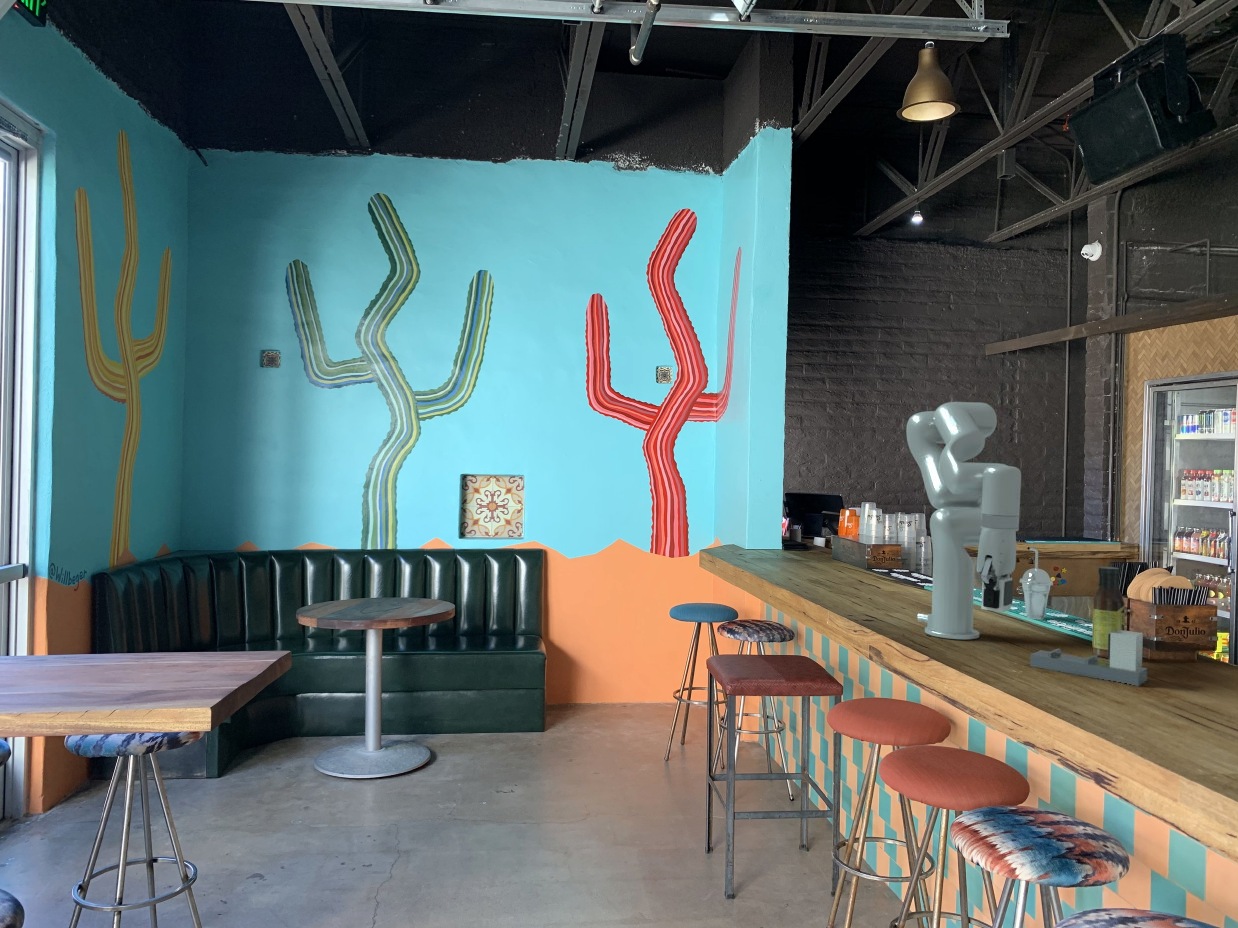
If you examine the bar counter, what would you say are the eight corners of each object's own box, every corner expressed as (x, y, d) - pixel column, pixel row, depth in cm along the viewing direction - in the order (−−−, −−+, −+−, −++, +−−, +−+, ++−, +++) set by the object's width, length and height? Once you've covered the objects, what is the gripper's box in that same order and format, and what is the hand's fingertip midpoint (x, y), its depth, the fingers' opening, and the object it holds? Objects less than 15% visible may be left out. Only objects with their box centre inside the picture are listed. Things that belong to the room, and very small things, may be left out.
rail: (1030, 666, 177) (1031, 621, 177) (1040, 661, 181) (1041, 617, 181) (1138, 686, 163) (1139, 637, 163) (1146, 680, 167) (1148, 633, 167)
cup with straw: (1059, 620, 229) (1061, 547, 229) (1031, 621, 227) (1033, 547, 227) (1037, 614, 238) (1039, 544, 237) (1009, 615, 235) (1011, 544, 235)
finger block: (981, 608, 183) (982, 577, 183) (989, 605, 186) (991, 574, 186) (1004, 612, 179) (1006, 580, 179) (1012, 609, 183) (1014, 578, 182)
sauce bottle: (1128, 660, 184) (1131, 570, 184) (1097, 658, 185) (1100, 568, 185) (1117, 653, 191) (1119, 566, 190) (1087, 651, 192) (1089, 565, 192)
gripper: (997, 518, 190) (994, 597, 191) (965, 523, 179) (962, 608, 180) (1032, 521, 185) (1028, 603, 186) (1001, 527, 173) (997, 614, 174)
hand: (995, 604), depth 183 cm, fingers closed on finger block, 4 cm apart
